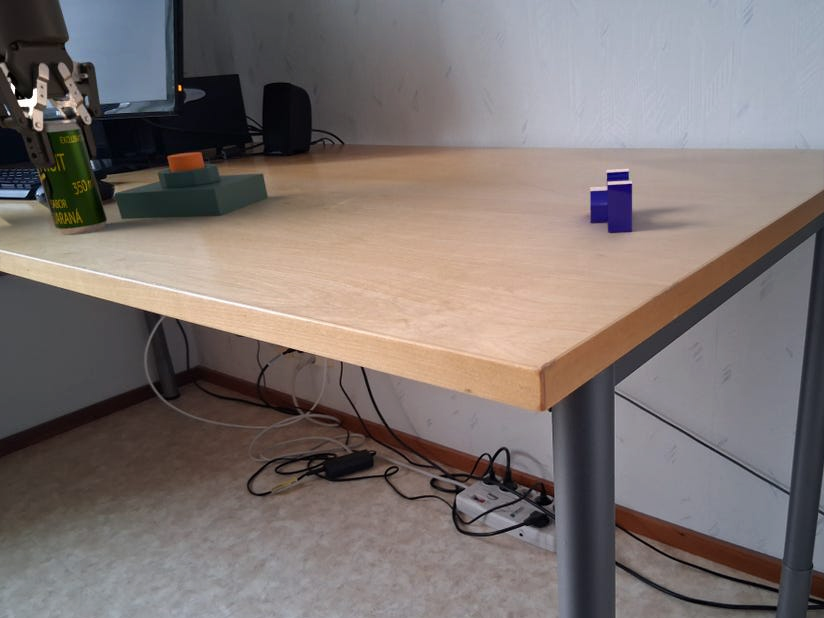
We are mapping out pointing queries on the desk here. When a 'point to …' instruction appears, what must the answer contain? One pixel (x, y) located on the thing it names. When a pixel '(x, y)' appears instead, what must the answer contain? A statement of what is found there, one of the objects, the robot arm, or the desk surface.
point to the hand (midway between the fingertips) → (67, 163)
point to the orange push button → (186, 161)
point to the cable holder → (613, 201)
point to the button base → (191, 194)
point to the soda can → (71, 181)
